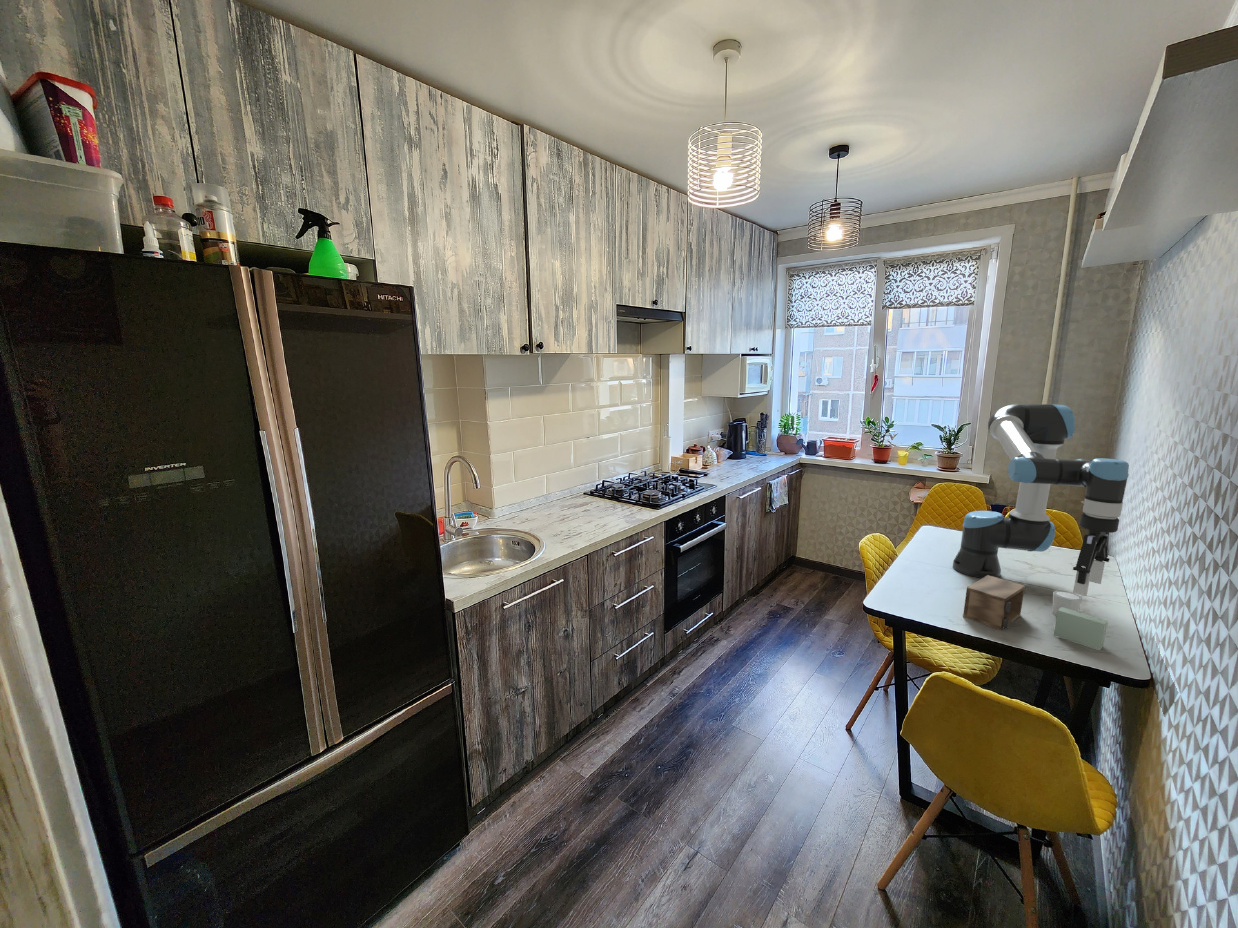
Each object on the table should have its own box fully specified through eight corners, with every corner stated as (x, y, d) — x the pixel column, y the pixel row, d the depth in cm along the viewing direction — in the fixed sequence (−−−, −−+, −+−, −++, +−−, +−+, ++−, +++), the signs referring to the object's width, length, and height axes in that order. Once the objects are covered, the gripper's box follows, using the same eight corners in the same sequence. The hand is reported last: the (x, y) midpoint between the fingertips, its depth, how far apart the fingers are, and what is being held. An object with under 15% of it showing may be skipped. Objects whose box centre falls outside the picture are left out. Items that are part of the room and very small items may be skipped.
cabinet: (962, 616, 157) (966, 587, 155) (983, 603, 166) (987, 575, 164) (1006, 631, 148) (1010, 600, 146) (1025, 616, 157) (1030, 587, 155)
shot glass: (1048, 615, 158) (1052, 595, 156) (1051, 608, 162) (1054, 588, 161) (1077, 623, 153) (1081, 602, 151) (1079, 615, 157) (1083, 595, 156)
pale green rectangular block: (1057, 631, 148) (1061, 606, 146) (1102, 646, 140) (1107, 620, 138) (1053, 635, 146) (1057, 610, 144) (1099, 650, 138) (1104, 624, 136)
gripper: (1095, 505, 146) (1083, 573, 150) (1068, 519, 132) (1055, 594, 136) (1131, 511, 140) (1117, 581, 144) (1106, 526, 126) (1092, 604, 130)
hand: (1087, 588), depth 140 cm, fingers open, 13 cm apart
